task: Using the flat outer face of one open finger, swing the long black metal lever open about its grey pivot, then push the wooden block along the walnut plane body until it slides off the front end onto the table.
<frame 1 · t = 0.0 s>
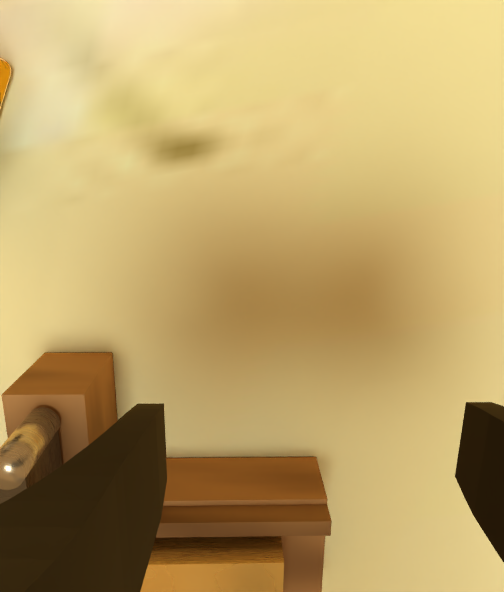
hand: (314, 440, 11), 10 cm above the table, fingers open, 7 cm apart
lever: (41, 557, 17), point 6 cm above the table, hinge at 0.0°
wooden block: (188, 567, 21), point 3 cm above the table, touching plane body
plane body: (154, 518, 24), on the table
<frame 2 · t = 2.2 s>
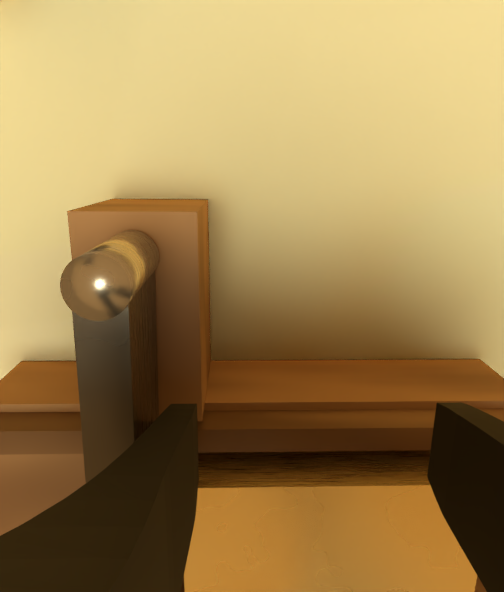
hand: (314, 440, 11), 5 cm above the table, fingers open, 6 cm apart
lever: (127, 468, 11), point 6 cm above the table, hinge at 1.3°, touching gripper
wooden block: (320, 504, 14), point 3 cm above the table, touching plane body
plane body: (253, 448, 17), on the table
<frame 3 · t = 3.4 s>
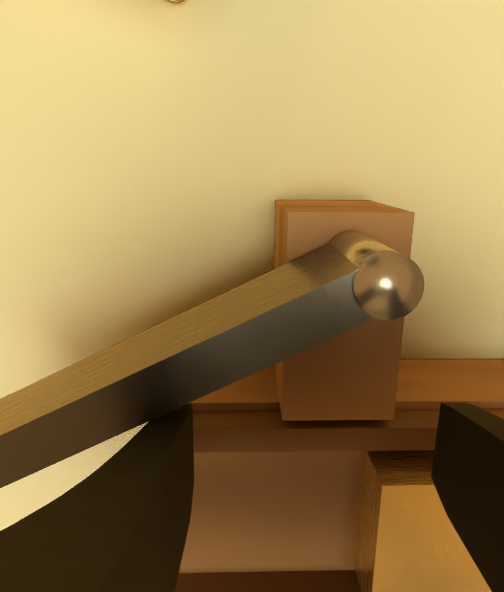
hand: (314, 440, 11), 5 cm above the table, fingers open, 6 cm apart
lever: (166, 362, 10), point 6 cm above the table, hinge at 64.0°, touching gripper
wooden block: (484, 501, 15), point 3 cm above the table, touching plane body
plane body: (390, 446, 17), on the table
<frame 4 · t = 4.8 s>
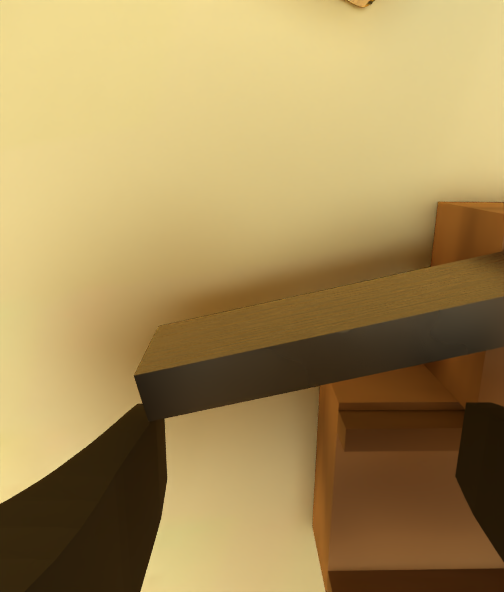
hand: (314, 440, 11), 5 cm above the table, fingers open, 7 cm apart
lever: (393, 318, 10), point 6 cm above the table, hinge at 77.1°
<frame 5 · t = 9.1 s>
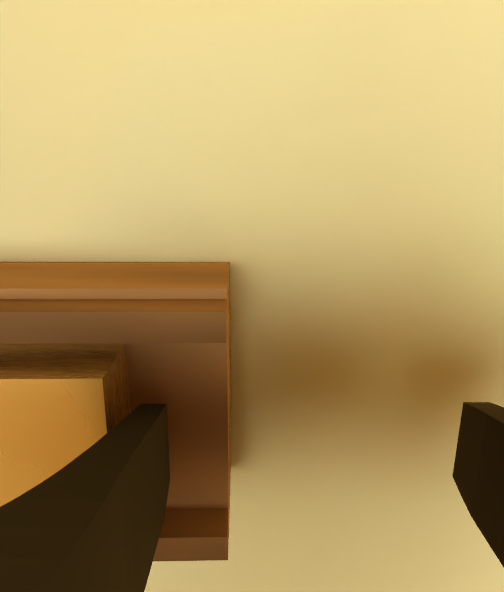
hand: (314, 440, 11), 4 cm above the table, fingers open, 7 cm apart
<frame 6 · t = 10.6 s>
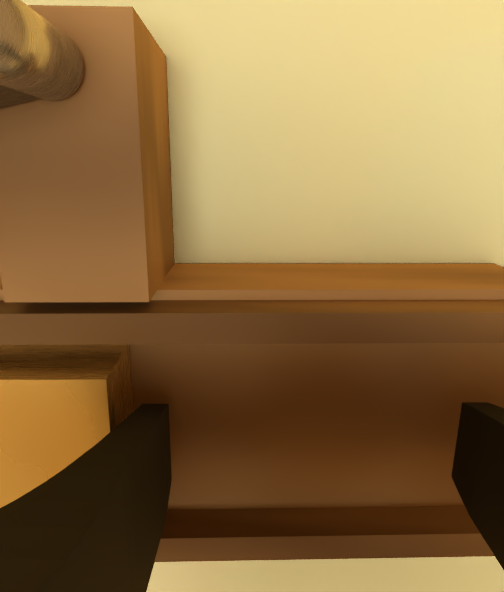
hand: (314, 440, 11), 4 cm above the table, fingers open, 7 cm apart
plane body: (226, 372, 15), on the table
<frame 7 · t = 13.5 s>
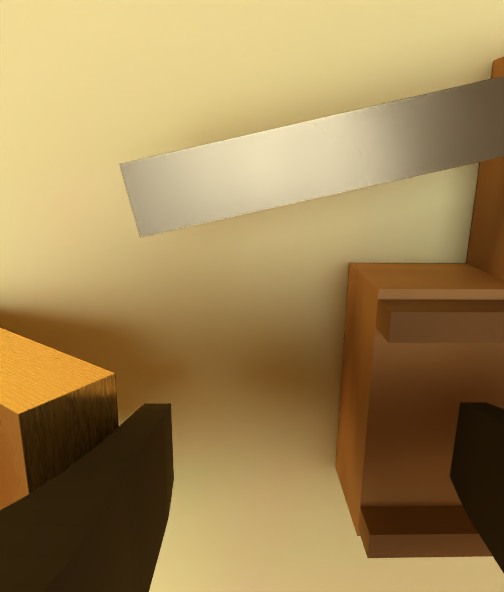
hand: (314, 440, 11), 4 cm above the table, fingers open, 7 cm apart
lever: (472, 122, 7), point 6 cm above the table, hinge at 77.1°
wooden block: (20, 410, 12), point 2 cm above the table, tilted 37°, touching gripper
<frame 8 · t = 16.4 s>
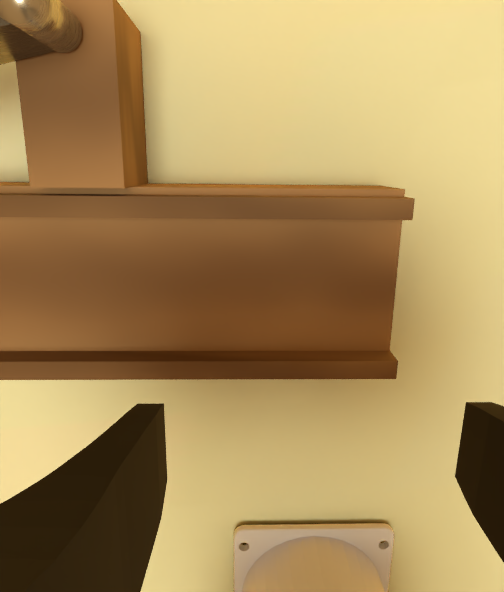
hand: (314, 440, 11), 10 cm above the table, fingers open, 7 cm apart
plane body: (187, 268, 20), on the table
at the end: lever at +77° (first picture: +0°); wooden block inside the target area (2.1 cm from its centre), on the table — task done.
